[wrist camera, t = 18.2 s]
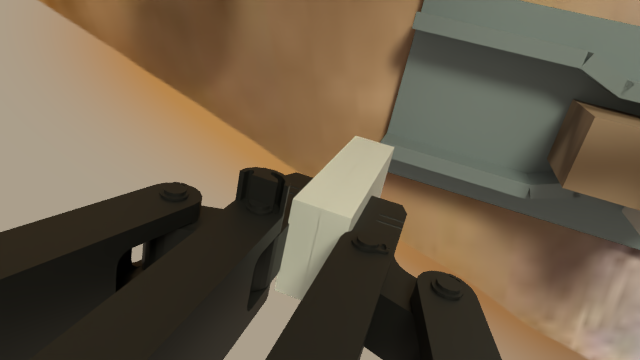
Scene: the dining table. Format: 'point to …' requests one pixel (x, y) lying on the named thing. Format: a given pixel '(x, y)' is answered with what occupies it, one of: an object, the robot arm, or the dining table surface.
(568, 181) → the brown rectangular block
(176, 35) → the dining table surface
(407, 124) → the grey grooved base
